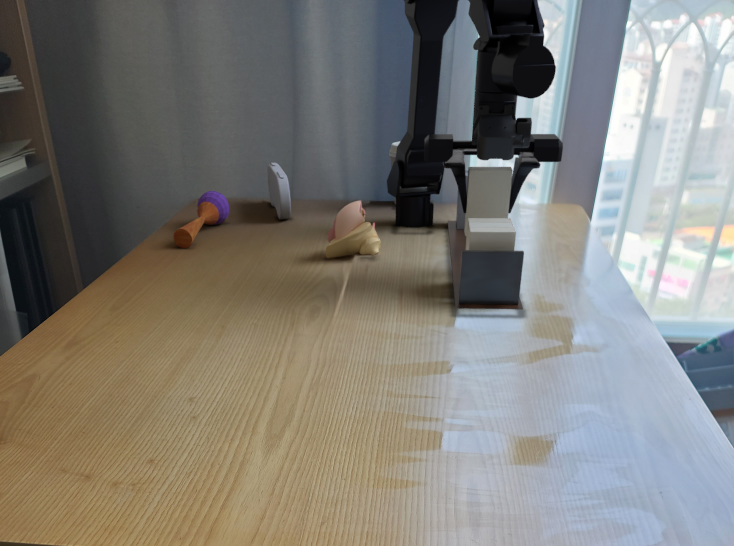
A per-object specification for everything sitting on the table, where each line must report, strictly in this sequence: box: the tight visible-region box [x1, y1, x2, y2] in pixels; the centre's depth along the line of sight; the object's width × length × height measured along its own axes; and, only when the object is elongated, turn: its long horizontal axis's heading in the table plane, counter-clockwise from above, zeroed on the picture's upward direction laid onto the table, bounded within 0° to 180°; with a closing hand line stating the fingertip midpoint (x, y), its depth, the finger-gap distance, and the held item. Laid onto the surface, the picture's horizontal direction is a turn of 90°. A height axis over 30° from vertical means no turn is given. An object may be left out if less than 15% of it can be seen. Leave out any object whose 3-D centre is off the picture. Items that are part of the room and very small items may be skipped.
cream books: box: [466, 217, 517, 251], centre depth 103 cm, size 6×7×9 cm
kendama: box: [172, 190, 231, 249], centre depth 137 cm, size 6×6×20 cm
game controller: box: [267, 162, 292, 220], centre depth 149 cm, size 20×2×8 cm, turn 13°
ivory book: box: [464, 166, 513, 236], centre depth 108 cm, size 6×2×9 cm, turn 86°
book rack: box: [447, 220, 525, 310], centre depth 118 cm, size 9×48×8 cm, turn 176°
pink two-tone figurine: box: [325, 199, 382, 259], centre depth 122 cm, size 9×10×10 cm
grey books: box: [455, 169, 468, 229], centre depth 134 cm, size 6×5×9 cm
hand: (486, 212), depth 109 cm, fingers closed on ivory book, 6 cm apart
